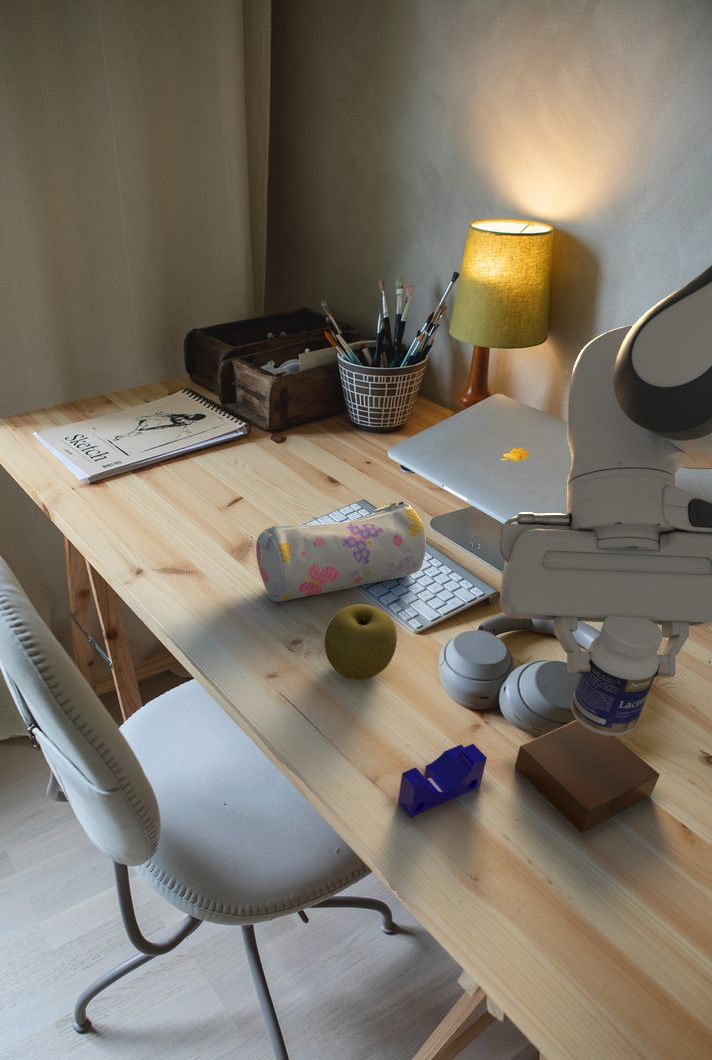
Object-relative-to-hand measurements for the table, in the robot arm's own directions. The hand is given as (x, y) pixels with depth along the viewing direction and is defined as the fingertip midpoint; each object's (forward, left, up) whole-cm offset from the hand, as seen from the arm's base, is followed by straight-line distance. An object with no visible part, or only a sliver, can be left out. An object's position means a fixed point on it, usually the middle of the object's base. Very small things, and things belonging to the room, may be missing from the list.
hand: (621, 675), depth 70 cm
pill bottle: (0, -1, -6) cm, 6 cm away
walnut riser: (0, -1, -14) cm, 14 cm away
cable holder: (+13, -7, -14) cm, 20 cm away
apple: (+10, -25, -14) cm, 30 cm away
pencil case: (+3, -40, -14) cm, 42 cm away
